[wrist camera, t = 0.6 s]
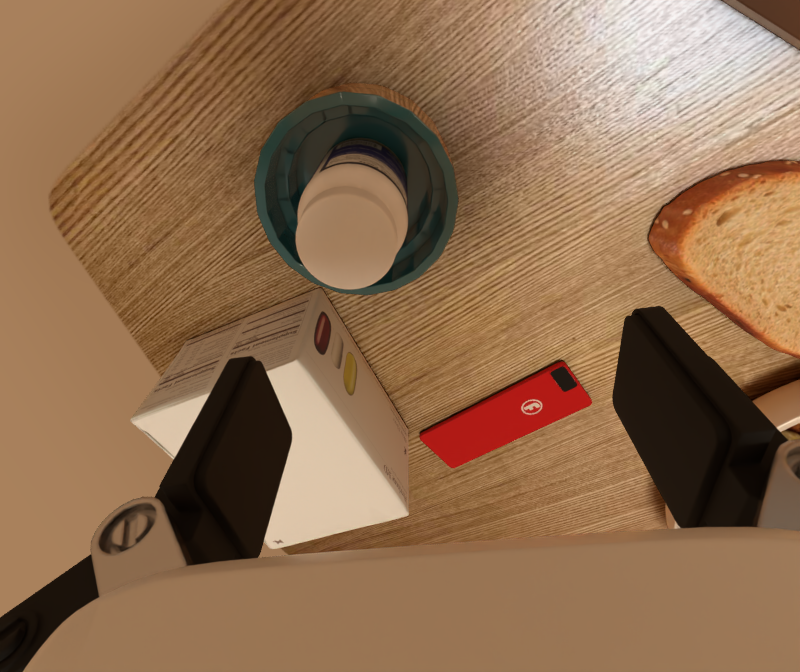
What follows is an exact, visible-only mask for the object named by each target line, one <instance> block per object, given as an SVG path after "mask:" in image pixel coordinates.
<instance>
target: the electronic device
mask: <svg viewBox="0 0 800 672" xmlns="http://www.w3.org/2000/svg"><path fill="white" fill-rule="evenodd" d="M591 404H592V400H591V398H590V397H589V395H588V394H587V393H586V391H585V390H584V388H583V387H582V386H581V384H580V383H579V381H578V380H577V379H576V377H575V376H574V374H573V373H572V372H571V370H570V369H569V367H568V366H567V365H566V363H565V362H563V361H560V362H558V363H556V364H554V365H552V366H550V367H548V368H546V369H544V370H542V371H540V372H538V373H536V374H534V375H532V376H530V377H528V378H526V379H525V380H523V381H521V382H519V383H517V384H515V385H513V386H511V387H509V388H507V389H505V390H503V391H501V392H499V393H497V394H495V395H493V396H491V397H490V398H488V399H486V400H484V401H482V402H480V403H478V404H476V405H474V406H472V407H470V408H468V409H466V410H464V411H462V412H460V413H458V414H456V415H455V416H453V417H451V418H449V419H447V420H445V421H443V422H441V423H439V424H437V425H435V426H433V427H431V428H429V429H427V430H425V431H423V432H421V433H420V440H421V441H422V442H423V443H425V444H426V445H427V446H428V447H429V448H430V449H431V450H432V451H433V452H434V453H435V454H436V455H438V456H439V457H440V458H441V459H442V460H443V461H444V462H445V463H446V464H447V465H448V466H449V467H451V468H456V467H458V466H460V465H462V464H464V463H466V462H469V461H471V460H473V459H475V458H477V457H479V456H482V455H484V454H486V453H488V452H490V451H492V450H495V449H497V448H499V447H501V446H503V445H505V444H508V443H510V442H512V441H514V440H516V439H518V438H521V437H523V436H525V435H527V434H529V433H531V432H534V431H536V430H538V429H540V428H542V427H544V426H547V425H549V424H551V423H553V422H555V421H557V420H560V419H562V418H564V417H566V416H568V415H570V414H573V413H575V412H577V411H579V410H581V409H583V408H586V407H588V406H590V405H591Z"/></svg>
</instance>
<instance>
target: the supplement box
mask: <svg viewBox="0 0 800 672" xmlns="http://www.w3.org/2000/svg"><path fill="white" fill-rule="evenodd" d="M246 356H252V357H254V358H255V360H256V361H258V360H259V361H261V362H262V364H263V366H264V368H265V370H266V372H267V375H268V377H269V379H270V382H271V384H272V386H273V388H274V391H275V393H276V395H277V398H278V400H279V402H280V405H281V407H282V409H283V411H284V414H285V416H286V418H287V421H288V423H289V425H290V428H291V430H292V443H291V447H290V451H289V454H288V458H287V461H286V465H285V468H284V472H283V475H282V479H281V482H280V486H279V489H278V493H277V496H276V500H275V503H274V507H273V510H272V514H271V517H270V521H269V524H268V528H267V532H266V535H265V539H264V542H265V543H266V544H267V546H268V547H269V548H270V549H276V548H282V547H286V546H290V545H293V544H297V543H301V542H306V541H309V540H313V539H317V538H321V537H325V536H329V535H333V534H337V533H341V532H344V531H348V530H352V529H356V528H361V527H365V526H369V525H374V524H378V523H382V522H386V521H390V520H394V519H398V518H401V517H404V516H408V515H409V486H408V479H409V478H408V428H407V427H406V425H405V423H404V422H403V420H402V419H401V417H400V415H399V414H398V412H397V410H396V409H395V407H394V406H393V404H392V402H391V401H390V399H389V397H388V396H387V394H386V393H385V391H384V389H383V388H382V386H381V384H380V383H379V381H378V379H377V378H376V376H375V375H374V373H373V371H372V370H371V368H370V366H369V365H368V363H367V361H366V360H365V358H364V356H363V355H362V353H361V352H360V350H359V348H358V347H357V345H356V343H355V342H354V340H353V338H352V337H351V335H350V333H349V332H348V330H347V328H346V327H345V325H344V323H343V322H342V320H341V319H340V317H339V315H338V314H337V312H336V311H335V309H334V307H333V306H332V304H331V302H330V301H329V299H328V297H327V296H326V294H325V292H324V291H323V289H322V288H318V289H315V290H313V291H310V292H308V293H305V294H303V295H300V296H298V297H295V298H293V299H290V300H288V301H285V302H283V303H280V304H278V305H275V306H273V307H270V308H268V309H265V310H263V311H260V312H258V313H256V314H253V315H251V316H248V317H246V318H243V319H241V320H238V321H236V322H233V323H231V324H228V325H226V326H223V327H221V328H218V329H216V330H214V331H211V332H209V333H206V334H204V335H201V336H199V337H196V338H193V339H190V340H187V341H186V342H185V344H184V345H183V347H182V348H181V350H180V351H179V353H178V354H177V356H176V357H175V359H174V360H173V362H172V363H171V364H170V366H169V367H168V369H167V370H166V371H165V373H164V374H163V375H162V377H161V378H160V380H159V381H158V383H157V384H156V385H155V387H154V388H153V389H152V391H151V392H150V393H149V395H148V396H147V397H146V399H145V400H144V402H143V403H142V404H141V406H140V407H139V408H138V410H137V411H136V413H135V414H134V415H133V417H132V418H131V422H132V423H133V424H134V425H135V426H137V427H138V428H139V429H140V430H142V431H143V432H144V433H145V434H146V435H147V436H148V437H149V438H150V439H152V440H153V441H154V442H155V443H156V444H157V445H158V446H159V447H160V448H161V449H163V450H164V451H165V452H166V453H167V454H168V455H169V456H170V457H171V458H172V459H174V458H175V456H176V455H177V453H178V451H179V449H180V447H181V446H182V444H183V442H184V440H185V438H186V436H187V435H188V433H189V431H190V429H191V427H192V425H193V424H194V422H195V420H196V418H197V416H198V414H199V413H200V411H201V409H202V407H203V405H204V403H205V402H206V400H207V398H208V396H209V394H210V393H211V391H212V389H213V387H214V385H215V383H216V382H217V380H218V378H219V376H220V374H221V372H222V371H223V369H224V367H225V365H226V363H227V362H228V360H229V359H231V358H238V357H246Z"/></svg>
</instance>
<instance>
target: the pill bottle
mask: <svg viewBox="0 0 800 672" xmlns="http://www.w3.org/2000/svg"><path fill="white" fill-rule="evenodd" d="M297 216H298V226H297V230H296V247H297V251H298V255H299V257H300V259H301V261H302V263H303V265H304V266H305V267H306V269H307V270H308V271H309V272H310V273H311V274H312V275H313V276H314V277H315V278H317V279H318V280H320V281H321V282H323V283H325V284H327V285H329V286H332V287H335V288H340V289H360V288H364V287H367V286H369V285H372V284H374V283H375V282H377V281H378V280H380V279H381V278H382V277H383V276H384V275H385V274H386V273H387V272H388V271H389V269H390V268H391V266H392V264H393V262H394V259H395V256H396V254H397V252H398V251H399V250H400V248H401V246H402V244H403V242H404V240H405V237H406V233H407V228H408V191H407V178H406V174H405V171H404V168H403V165H402V163H401V162H400V160H399V159H398V157H397V156H396V155H395V153H394V152H393V151H392V150H390V149H389V148H388V147H387V146H385V145H384V144H382V143H380V142H378V141H375V140H372V139H368V138H353V139H348V140H345V141H343V142H341V143H339V144H337V145H336V146H335V147H333V148H332V149H331V150H330V151H329V152H328V153H327V154H326V155H325V157H324V158H323V160H322V161H321V163H320V164H319V166H318V168H317V170H316V171H315V173H314V175H313V176H312V178H311V179H310V181H309V182H308V184H307V186H306V187H305V189H304V191H303V193H302V196H301V198H300V202H299V206H298V215H297Z"/></svg>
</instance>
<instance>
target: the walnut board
mask: <svg viewBox="0 0 800 672" xmlns="http://www.w3.org/2000/svg"><path fill="white" fill-rule="evenodd" d="M722 1H724V2H725V3H727V4H728V5H730V6H732V7H733V8H735V9H736V10H738V11H740V12H741V13H743V14H744V15H746V16H747V17H749V18H751V19H752V20H754V21H755V22H757V23H758V24H760V25H762V26H763V27H765V28H766V29H768V30H770V31H771V32H773V33H774V34H776V35H777V36H779V37H781V38H782V39H784V40H785V41H787V42H788V43H790V44H792V45H793V46H795V47H796V48H798V49H800V0H722Z"/></svg>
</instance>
